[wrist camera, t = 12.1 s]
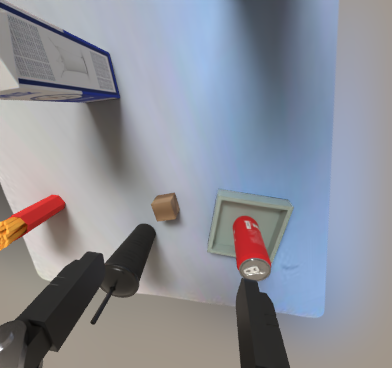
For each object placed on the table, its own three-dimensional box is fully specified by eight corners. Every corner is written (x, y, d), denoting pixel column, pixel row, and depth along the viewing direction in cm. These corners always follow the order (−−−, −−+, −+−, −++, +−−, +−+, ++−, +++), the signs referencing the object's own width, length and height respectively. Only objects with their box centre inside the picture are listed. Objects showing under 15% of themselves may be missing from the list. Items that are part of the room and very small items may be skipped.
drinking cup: (153, 214, 41) (101, 300, 23) (166, 241, 44) (129, 337, 25) (124, 222, 43) (55, 308, 25) (138, 247, 45) (85, 341, 27)
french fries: (58, 190, 41) (-7, 223, 30) (71, 204, 43) (14, 242, 31) (33, 206, 44) (-35, 242, 32) (46, 219, 45) (-14, 259, 33)
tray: (218, 188, 37) (218, 195, 34) (288, 199, 36) (293, 207, 33) (208, 242, 42) (207, 252, 40) (268, 253, 42) (271, 263, 39)
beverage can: (260, 229, 39) (277, 278, 28) (237, 237, 40) (244, 285, 29) (252, 210, 37) (266, 253, 26) (228, 218, 39) (232, 262, 28)
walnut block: (157, 195, 39) (151, 204, 36) (174, 192, 38) (170, 201, 35) (162, 211, 41) (157, 221, 37) (179, 208, 40) (175, 218, 36)
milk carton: (110, 52, 30) (-63, -36, 11) (121, 97, 32) (-7, 84, 14) (71, 59, 31) (-144, -12, 12) (85, 102, 33) (-78, 97, 15)
